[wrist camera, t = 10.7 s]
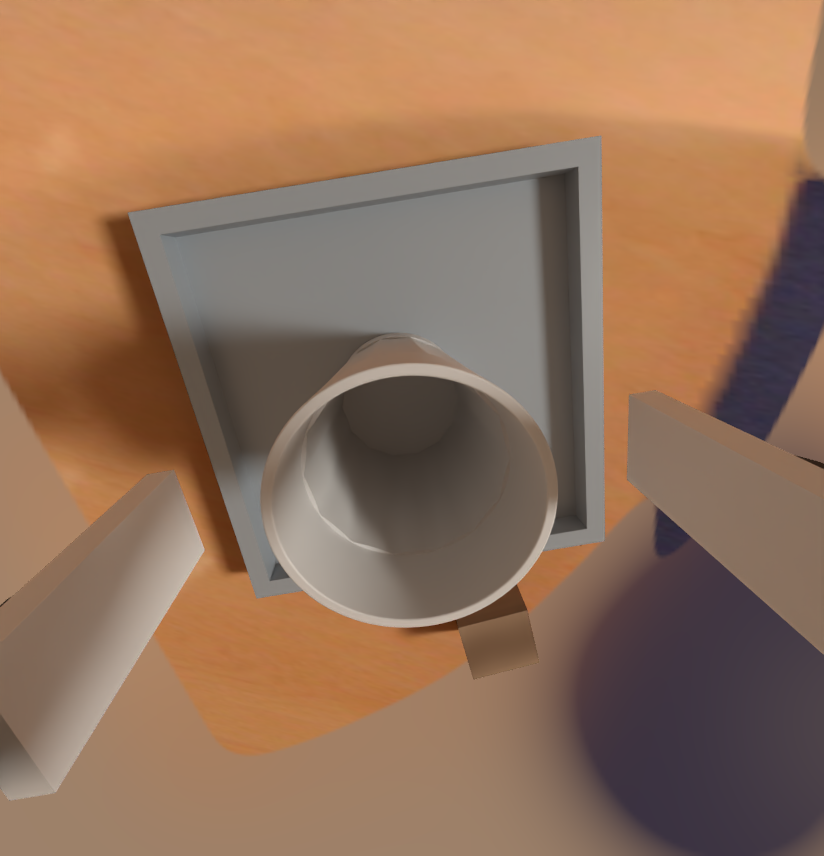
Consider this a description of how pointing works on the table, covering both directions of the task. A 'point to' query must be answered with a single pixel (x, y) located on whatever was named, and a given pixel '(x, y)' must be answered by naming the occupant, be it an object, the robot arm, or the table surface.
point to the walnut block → (498, 636)
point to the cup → (408, 488)
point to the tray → (391, 307)
